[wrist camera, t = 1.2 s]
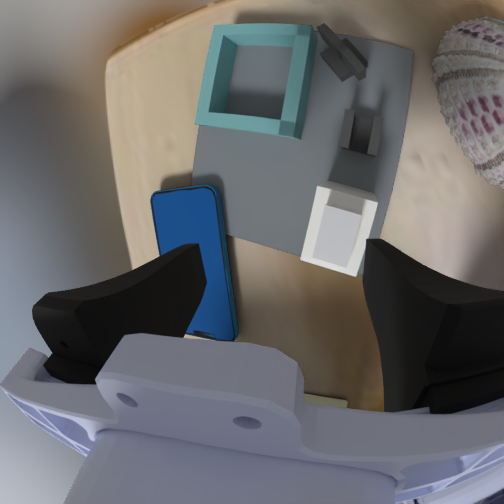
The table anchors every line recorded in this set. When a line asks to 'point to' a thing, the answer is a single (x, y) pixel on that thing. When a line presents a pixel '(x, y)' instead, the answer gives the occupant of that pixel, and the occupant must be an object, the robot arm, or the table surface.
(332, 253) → the connector plug
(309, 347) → the table surface
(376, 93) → the board
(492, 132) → the sea urchin shell
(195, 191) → the smartphone
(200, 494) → the robot arm
